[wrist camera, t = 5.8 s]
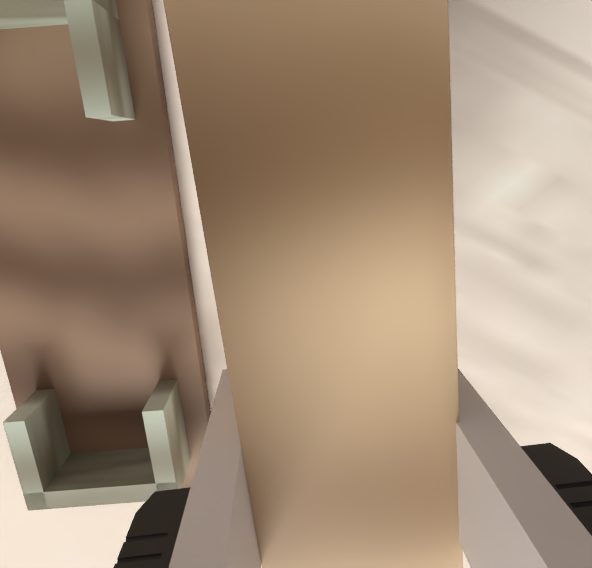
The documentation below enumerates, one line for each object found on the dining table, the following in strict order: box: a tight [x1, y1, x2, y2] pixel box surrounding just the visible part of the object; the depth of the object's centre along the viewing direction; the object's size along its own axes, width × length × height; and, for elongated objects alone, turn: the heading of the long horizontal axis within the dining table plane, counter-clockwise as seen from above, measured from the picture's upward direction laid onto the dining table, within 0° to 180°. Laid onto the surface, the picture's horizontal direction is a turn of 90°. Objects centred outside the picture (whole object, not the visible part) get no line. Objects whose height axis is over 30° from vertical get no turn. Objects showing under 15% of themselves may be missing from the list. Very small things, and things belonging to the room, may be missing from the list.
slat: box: [163, 0, 463, 568], centre depth 11 cm, size 18×4×4 cm, turn 6°
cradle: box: [0, 0, 211, 510], centre depth 22 cm, size 28×10×4 cm, turn 4°
